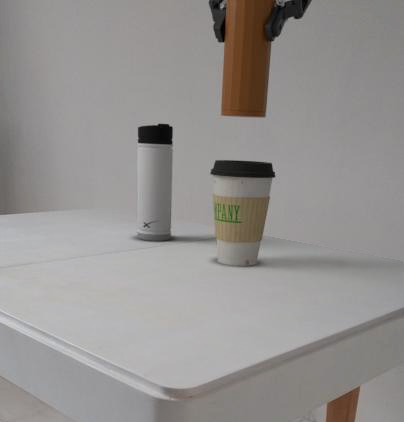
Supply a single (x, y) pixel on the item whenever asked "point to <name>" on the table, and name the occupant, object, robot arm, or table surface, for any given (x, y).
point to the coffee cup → (240, 208)
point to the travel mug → (155, 182)
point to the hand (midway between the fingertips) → (243, 35)
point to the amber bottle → (246, 58)
